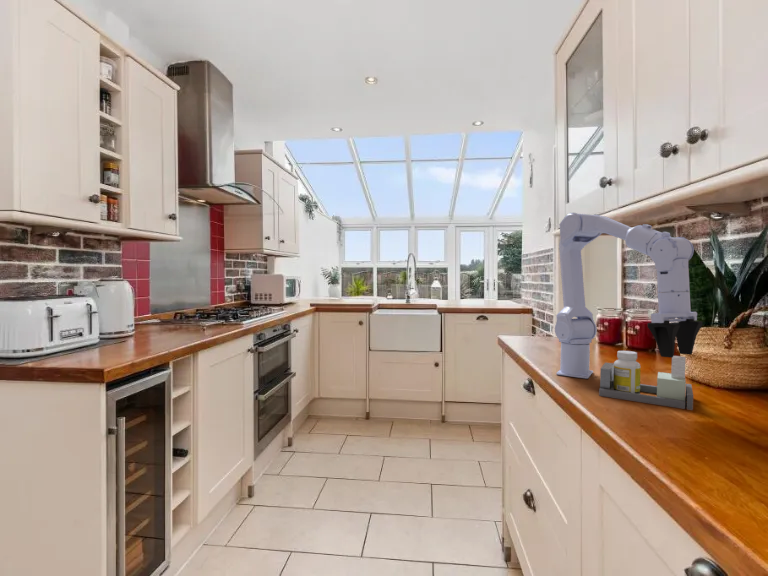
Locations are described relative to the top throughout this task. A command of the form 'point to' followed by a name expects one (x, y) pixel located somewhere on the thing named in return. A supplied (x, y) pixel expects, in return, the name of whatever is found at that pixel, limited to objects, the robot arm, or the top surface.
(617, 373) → the supplement bottle
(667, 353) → the robot arm
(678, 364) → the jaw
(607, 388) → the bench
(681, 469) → the top surface
